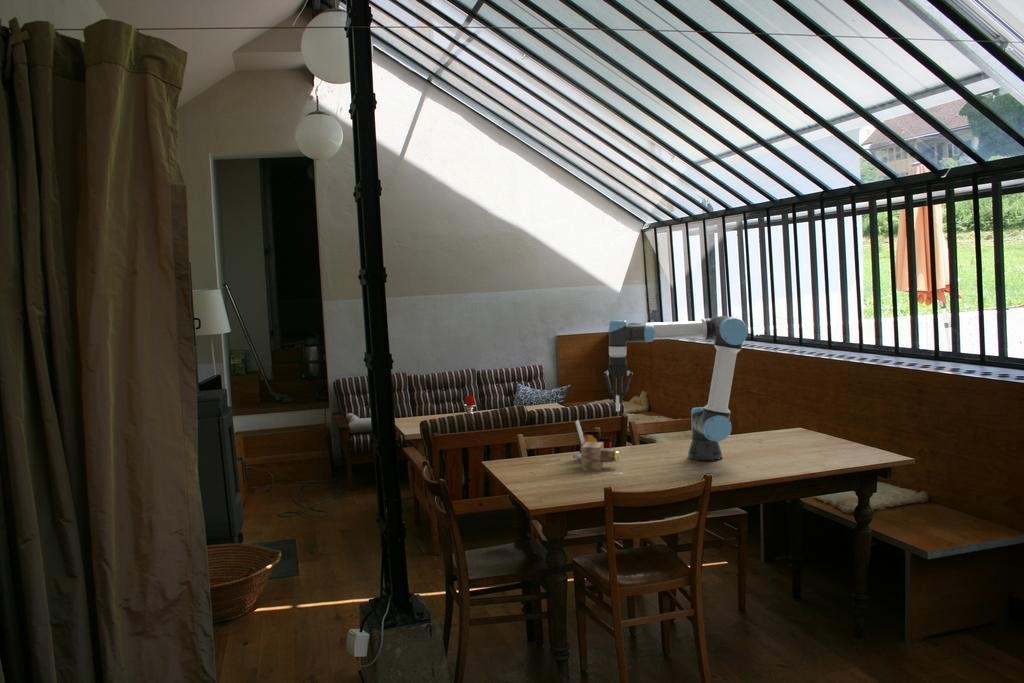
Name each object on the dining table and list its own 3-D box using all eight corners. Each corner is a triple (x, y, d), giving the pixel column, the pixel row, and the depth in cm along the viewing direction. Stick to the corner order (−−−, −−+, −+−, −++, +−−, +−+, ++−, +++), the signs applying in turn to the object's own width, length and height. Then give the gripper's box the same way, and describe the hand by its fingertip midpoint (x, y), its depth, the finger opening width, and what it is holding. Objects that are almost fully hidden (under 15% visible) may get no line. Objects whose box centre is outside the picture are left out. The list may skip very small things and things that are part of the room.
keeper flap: (578, 419, 369) (576, 420, 369) (576, 421, 364) (575, 421, 365) (585, 441, 369) (583, 442, 369) (583, 443, 364) (581, 444, 365)
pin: (619, 460, 366) (619, 450, 365) (618, 463, 361) (617, 452, 361) (574, 459, 371) (573, 449, 370) (572, 461, 366) (571, 451, 366)
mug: (612, 460, 381) (611, 433, 380) (582, 461, 378) (582, 435, 377) (606, 455, 390) (605, 430, 389) (577, 457, 388) (576, 431, 387)
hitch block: (615, 464, 370) (614, 440, 369) (611, 470, 358) (611, 445, 358) (585, 464, 373) (584, 439, 372) (580, 470, 362) (579, 444, 361)
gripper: (633, 355, 362) (634, 409, 364) (603, 355, 365) (604, 409, 367) (632, 357, 355) (632, 412, 356) (601, 356, 358) (601, 411, 359)
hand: (617, 410), depth 362 cm, fingers closed
